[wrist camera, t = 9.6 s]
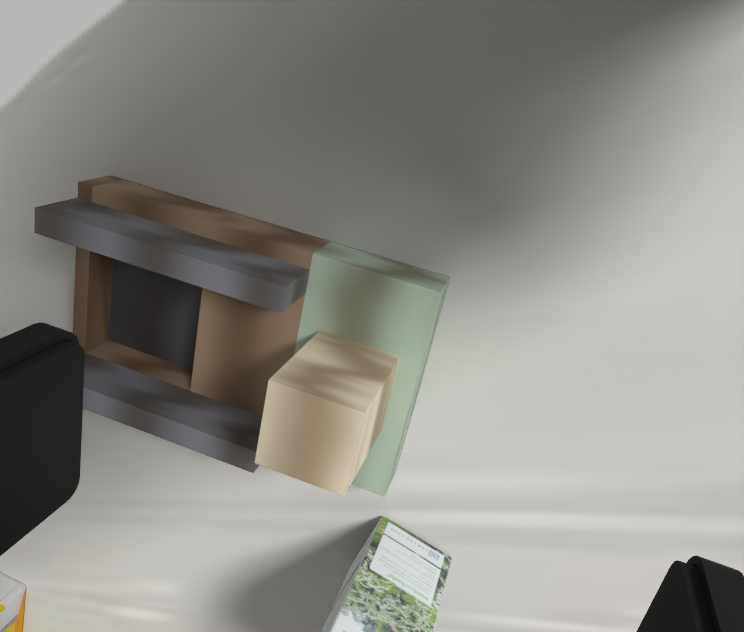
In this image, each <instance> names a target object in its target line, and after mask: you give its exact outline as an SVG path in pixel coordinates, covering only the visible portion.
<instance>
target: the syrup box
mask: <svg viewBox="0 0 744 632" xmlns="http://www.w3.org/2000/svg"><path fill="white" fill-rule="evenodd" d="M450 565H451V557H449V556H448V555H446V554H445V553H443V552H441V551H440V550H438V549H436V548H434V547H433V546H431V545H430V544H428V543H426V542H425V541H423V540H421V539H420V538H418V537H416V536H415V535H413V534H412V533H410V532H408V531H406V530H405V529H403V528H402V527H400V526H398V525H397V524H395V523H394V522H392V521H390V520H389V519H387V518H385V517H381V518H380V520H379V521H378V523H377V525H376V526H375V528H374V529H373V531H372V533H371V534H370V536H369V537H368V539H367V541H366V542H365V544H364V545H363V547H362V549H361V550H360V552H359V553H358V555H357V556H356V558H355V560H354V561H353V563H352V565H351V566H350V568H349V570H348V573H347V575H346V577H345V579H344V582H343V584H342V587H341V589H340V592H339V594H338V596H337V598H336V600H335V603H334V605H333V607H332V609H331V611H330V614H329V616H328V618H327V620H326V622H325V624H324V626H323V628H322V630H321V632H434V628H435V624H436V620H437V616H438V612H439V608H440V604H441V600H442V596H443V592H444V588H445V584H446V580H447V576H448V573H449V569H450Z"/></svg>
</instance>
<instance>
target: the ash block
mask: <svg viewBox="0 0 744 632" xmlns="http://www.w3.org/2000/svg"><path fill="white" fill-rule="evenodd" d="M399 360H400V357H399V356H396V355H393V354H390V353H387V352H384V351H381V350H378V349H375V348H372V347H368V346H365V345H362V344H359V343H356V342H353V341H350V340H347V339H344V338H341V337H338V336H335V335H332V334H329V333H326V332H322V331H319V332H318V333H317V334H316V335H315V336H314V337H312V338H311V339H310V340H309V341H308V342H307V343H306V344H305V345H304V346H303V347H302V348H301V349H300V350H299V351H298V352H297V353H296V354H295V355H294V356H293V357H292V358H291V359H290V360H289V361H288V362H287V363H286V364H284V365H283V366H282V367H281V368H280V369H279V370H278V371H277V372H276V373H275V374H274V375H273V376H272V377H271V378H270V379H269V381H268V387H267V392H266V398H265V404H264V410H263V416H262V422H261V428H260V434H259V440H258V446H257V451H256V457H255V463H256V464H259V465H261V466H264V467H267V468H269V469H272V470H275V471H277V472H280V473H283V474H285V475H288V476H291V477H293V478H296V479H299V480H301V481H304V482H307V483H309V484H312V485H315V486H317V487H320V488H323V489H325V490H328V491H331V492H333V493H336V494H339V495H341V496H345V494H346V493H347V491H348V489H349V487H350V485H351V484H352V482H353V480H354V478H355V476H356V475H357V473H358V471H359V469H360V467H361V466H362V464H363V462H364V460H365V458H366V457H367V455H368V453H369V451H370V450H371V448H372V446H373V444H374V442H375V441H376V439H377V437H378V435H379V433H380V432H381V430H382V426H383V422H384V418H385V414H386V411H387V407H388V403H389V399H390V395H391V391H392V387H393V383H394V379H395V376H396V372H397V368H398V364H399Z"/></svg>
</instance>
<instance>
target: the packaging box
mask: <svg viewBox="0 0 744 632" xmlns="http://www.w3.org/2000/svg"><path fill="white" fill-rule="evenodd" d="M25 594H26V586H25V585H24V584H22V583H20V582H18V581H16V580H14V579H12V578H10V577H8V576H6V575H4V574H2V573H0V632H23V621H24V608H25Z"/></svg>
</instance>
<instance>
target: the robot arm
mask: <svg viewBox="0 0 744 632" xmlns="http://www.w3.org/2000/svg"><path fill="white" fill-rule="evenodd" d="M84 365H85V352H84V349H83V347H82V346H80V345H79V340H78V338H77V336H76V335H74V334H73V333H71V332H68V331H65V330H63V329H60V328H57V327H54V326H51V325H49V324H46V323H36V324H33V325H31V326H28V327H26V328H24V329H22V330H19V331H17V332H15V333H13V334H10V335H8V336H6V337H3V338H1V339H0V556H1V555H2V554H3V553H5V552H6V551H7V550H8V549H9V548H11V547H12V546H13V545H14V544H15V543H17V542H18V541H19V540H20V539H22V538H23V537H24V536H25V535H26V534H28V533H29V532H30V531H31V530H33V529H34V528H35V527H36V526H37V525H39V524H40V523H41V522H42V521H44V520H45V519H46V518H47V517H48V516H50V515H51V514H52V513H53V512H55V511H56V510H57V509H58V508H59V507H61V506H62V505H63V504H64V503H65V502H67V501H68V500H69V499H70V498H71V496H72V495H73V494H74V492H75V490H76V488H77V486H78V483H79V478H80V458H81V435H82V412H83V388H84ZM637 632H744V576H743V574H742V573H741V572H740V571H738V570H735V569H733V568H730V567H727V566H724V565H721V564H719V563H716V562H713V561H710V560H707V559H705V558H702V557H699V556H693V557H692V558H690V559H689V560H688V562H687V563H684V562H681V561H675V562H674V563H673V564H672V565H671V567H670V568H669V570H668V572H667V574H666V576H665V578H664V580H663V582H662V584H661V586H660V588H659V590H658V591H657V593H656V595H655V597H654V599H653V601H652V603H651V605H650V607H649V609H648V611H647V613H646V615H645V617H644V618H643V620H642V622H641V624H640V626H639V628H638V630H637Z"/></svg>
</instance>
